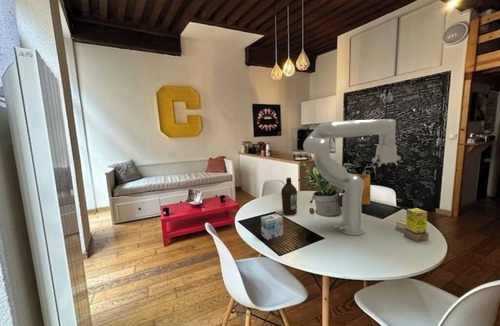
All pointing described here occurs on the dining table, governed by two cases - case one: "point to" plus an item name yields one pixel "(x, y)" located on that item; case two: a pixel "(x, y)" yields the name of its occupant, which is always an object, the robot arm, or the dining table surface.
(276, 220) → the light bulb box
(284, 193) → the olive oil
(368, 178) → the coffee package
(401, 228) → the oak cube
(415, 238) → the walnut block
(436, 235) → the dining table surface
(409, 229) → the supplement box
